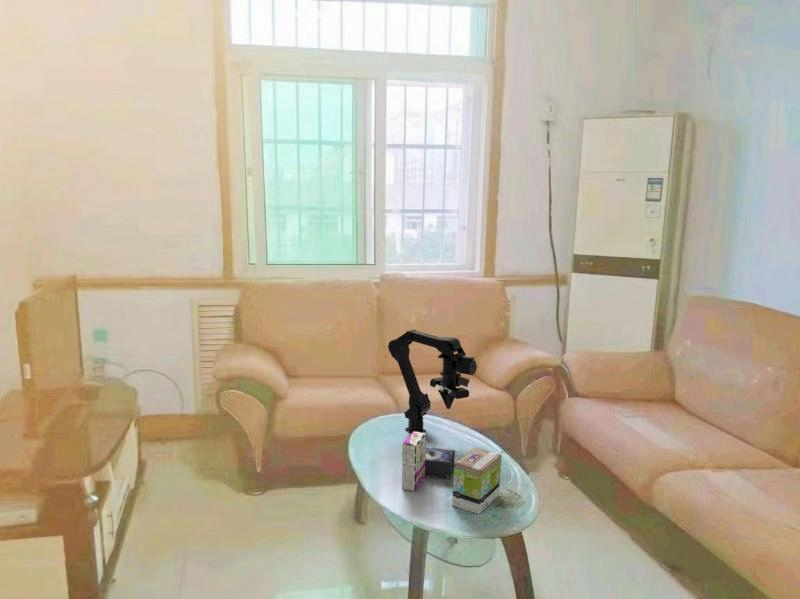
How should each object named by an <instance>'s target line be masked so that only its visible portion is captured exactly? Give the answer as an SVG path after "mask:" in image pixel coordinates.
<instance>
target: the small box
mask: <svg viewBox="0 0 800 599" xmlns="http://www.w3.org/2000/svg"><path fill="white" fill-rule="evenodd" d="M455 458H456V451H455V450H452V449H445V448H435V447H426V469H425V477H431V478H436V479H438V478H446V479H450V478H451V475H452V472H453V468H454V466H455V462H456V461H455V460H456V459H455Z"/></svg>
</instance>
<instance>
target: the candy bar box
mask: <svg viewBox="0 0 800 599" xmlns="http://www.w3.org/2000/svg"><path fill="white" fill-rule="evenodd" d="M426 448H427V433H426V432H422V433H421V432H416V431H413V432H412V433H410V435H409V436H408V437H407V438H406V439H405V440H404V441H403V443H402V461H401V462H402V463H401V464H402V466H401V468H402V473H401V477H402V479H401V480H402V482H401V484H402V486H401V487H402V488H401V489H402V490H403V491H408V490H409V492H415V493H416V492H417V490H418V489H419V487H420V486H421V484H422V483H423V482H424V480H425V479H426V476H425V469H426Z"/></svg>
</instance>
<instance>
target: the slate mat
mask: <svg viewBox="0 0 800 599" xmlns="http://www.w3.org/2000/svg"><path fill="white" fill-rule="evenodd" d="M454 467H455V466H454ZM437 480H439V481H440V482H442V483H443V484H445V485H446V486H447V487H453V481H454V468H453V472H452V475H451V478H450V479H446V478H437Z"/></svg>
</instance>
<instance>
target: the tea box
mask: <svg viewBox="0 0 800 599" xmlns="http://www.w3.org/2000/svg"><path fill="white" fill-rule="evenodd" d="M454 464H455V467H454V481H453V485H452V500H451V506H453V507H455V508H458V509H461V510H463V511H467V512H470V511H471V512H470V513H473V512H474V513H473V514H476V513H477V515H480V514H481V513H482V512H483V511H484V510H485V509H486V508H488V507H489V505H490V504H492V503H493V501H494V500H496V499H497V498H498V497H499V495H500V483H501V471H502V470H501V469H502V468H501V467H502V454H500V453H498V452H494V451H489V450H486V449H482V448H480V447H476V446H475V447H473V448H472V449H471V450H470V451H468V452H467V453H466V454H464V455H463V456H462V457H460V458H459V459H458V460H456V461H455V463H454ZM497 496H498V497H497ZM495 498H496V499H495Z"/></svg>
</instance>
